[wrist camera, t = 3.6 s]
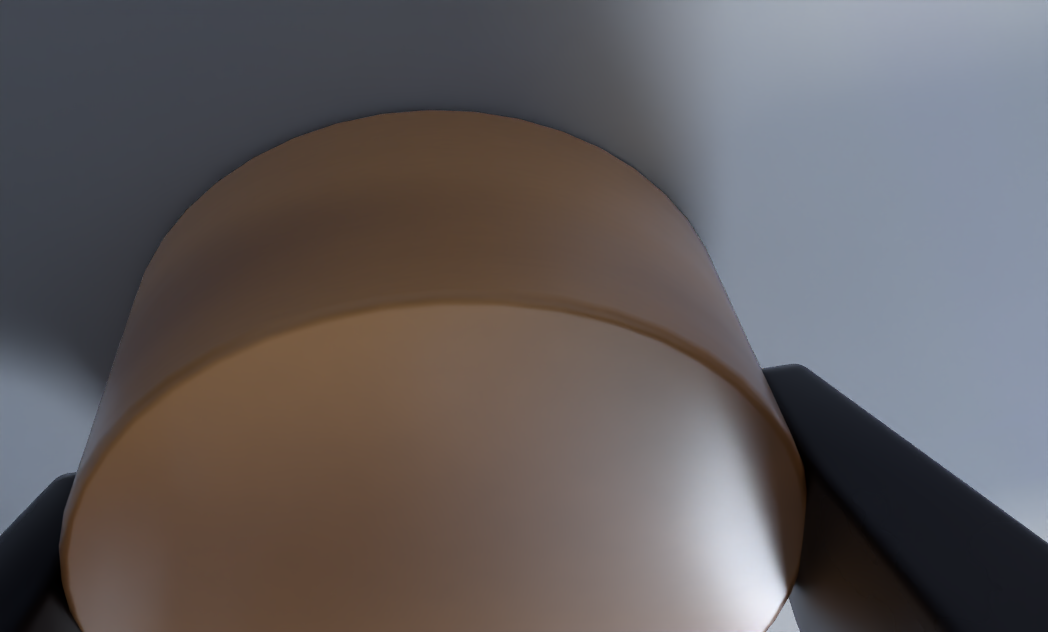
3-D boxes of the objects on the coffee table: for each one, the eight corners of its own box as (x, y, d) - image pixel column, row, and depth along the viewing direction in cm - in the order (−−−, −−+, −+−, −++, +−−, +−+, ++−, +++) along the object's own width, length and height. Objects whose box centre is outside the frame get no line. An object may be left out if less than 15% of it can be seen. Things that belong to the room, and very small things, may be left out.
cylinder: (718, 521, 11) (790, 728, 9) (230, 598, 11) (196, 825, 9) (731, 58, 8) (847, 232, 6) (26, 160, 8) (-99, 372, 6)
